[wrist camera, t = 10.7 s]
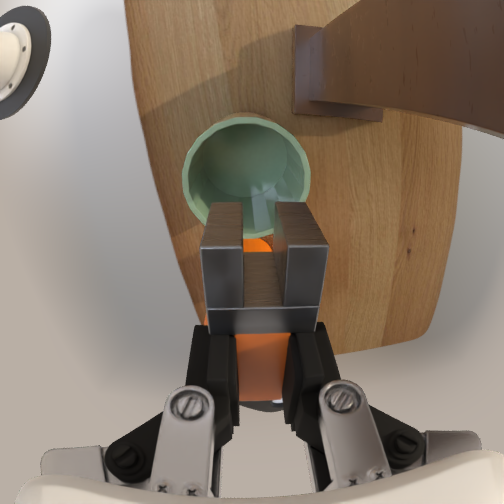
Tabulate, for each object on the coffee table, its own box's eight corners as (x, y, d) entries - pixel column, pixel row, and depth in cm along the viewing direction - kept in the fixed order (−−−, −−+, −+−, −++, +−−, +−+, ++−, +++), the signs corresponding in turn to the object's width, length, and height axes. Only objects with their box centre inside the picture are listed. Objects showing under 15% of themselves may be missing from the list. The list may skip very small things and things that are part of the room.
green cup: (201, 200, 33) (187, 240, 25) (197, 113, 28) (178, 120, 20) (288, 199, 34) (305, 238, 25) (291, 112, 29) (313, 119, 20)
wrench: (290, 342, 12) (300, 398, 10) (221, 344, 12) (218, 401, 10) (305, 201, 9) (330, 245, 7) (211, 201, 9) (198, 247, 7)
